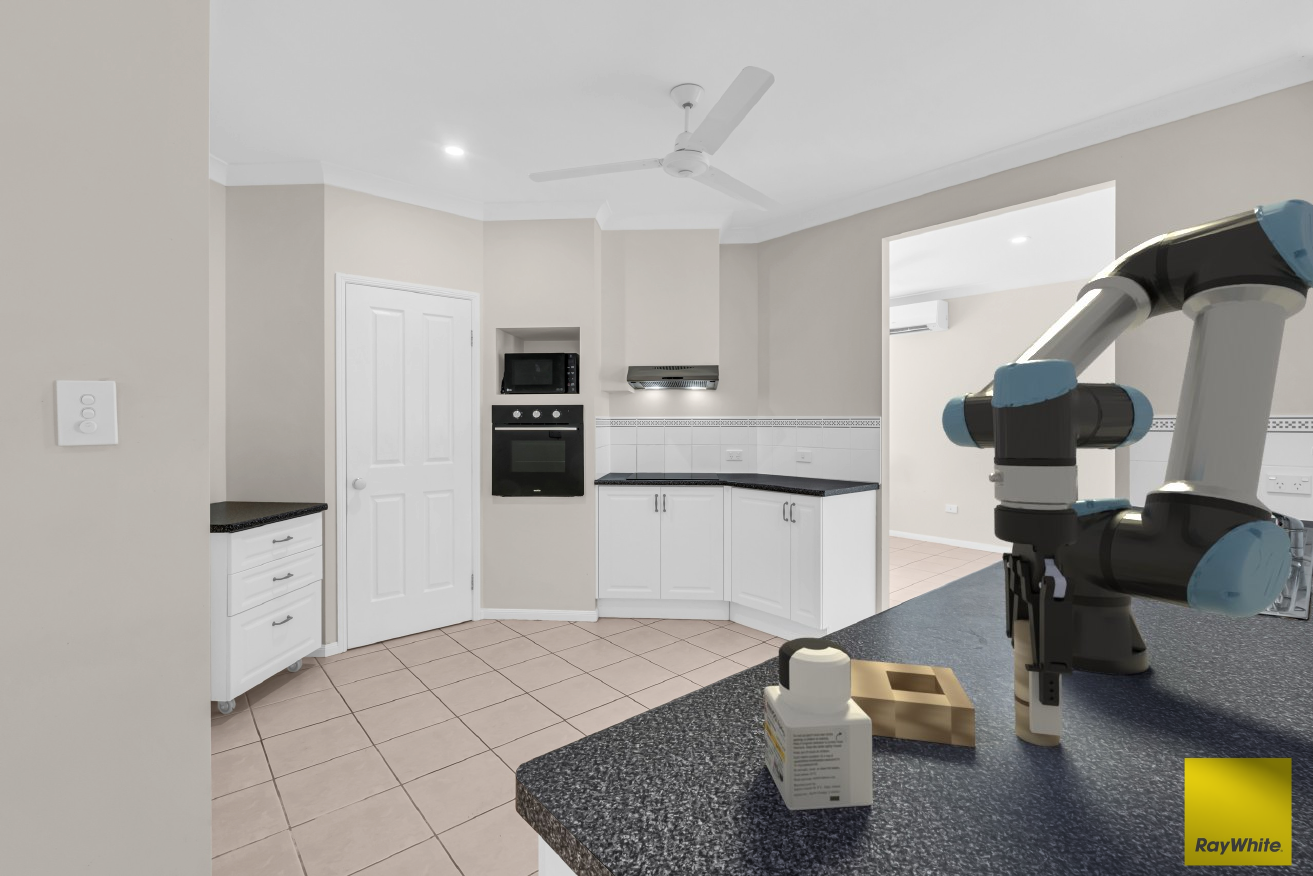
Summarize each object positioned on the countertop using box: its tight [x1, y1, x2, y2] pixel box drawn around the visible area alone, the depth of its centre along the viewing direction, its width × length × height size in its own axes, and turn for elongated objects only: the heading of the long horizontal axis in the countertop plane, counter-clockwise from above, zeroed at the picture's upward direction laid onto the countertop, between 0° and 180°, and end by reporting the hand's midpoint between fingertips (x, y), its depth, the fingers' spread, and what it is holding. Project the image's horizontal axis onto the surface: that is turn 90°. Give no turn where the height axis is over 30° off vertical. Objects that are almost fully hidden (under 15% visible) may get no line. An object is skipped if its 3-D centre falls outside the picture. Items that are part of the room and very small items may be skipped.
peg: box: [1013, 619, 1061, 748], centre depth 62 cm, size 4×4×12 cm
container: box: [763, 637, 874, 811], centre depth 54 cm, size 8×8×13 cm
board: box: [851, 658, 976, 748], centre depth 68 cm, size 20×11×4 cm, turn 75°
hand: (1037, 721), depth 62 cm, fingers closed on peg, 4 cm apart
